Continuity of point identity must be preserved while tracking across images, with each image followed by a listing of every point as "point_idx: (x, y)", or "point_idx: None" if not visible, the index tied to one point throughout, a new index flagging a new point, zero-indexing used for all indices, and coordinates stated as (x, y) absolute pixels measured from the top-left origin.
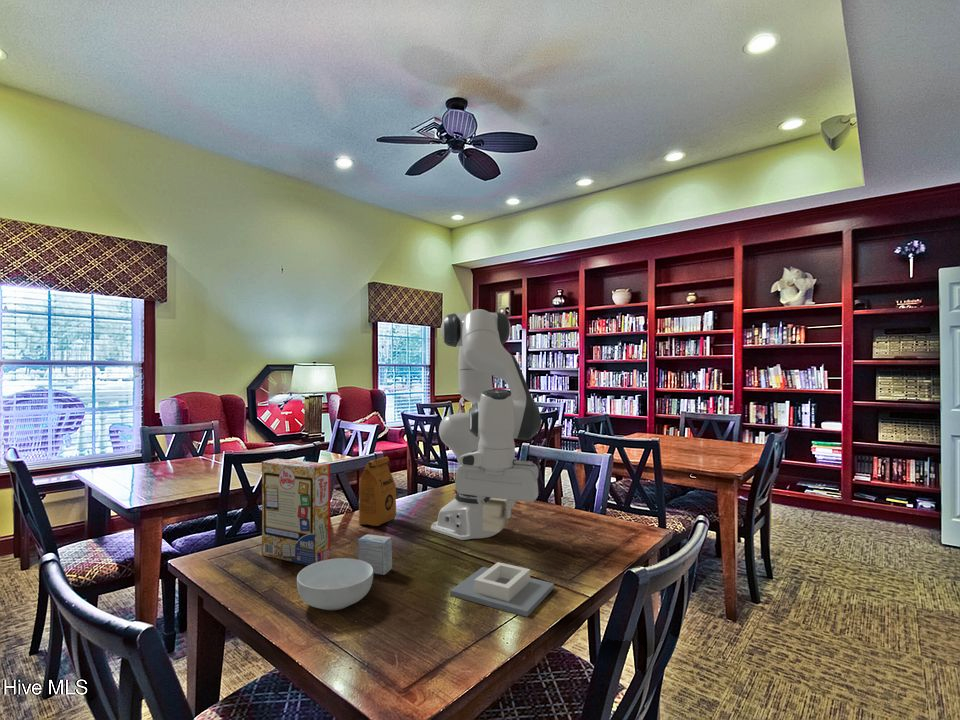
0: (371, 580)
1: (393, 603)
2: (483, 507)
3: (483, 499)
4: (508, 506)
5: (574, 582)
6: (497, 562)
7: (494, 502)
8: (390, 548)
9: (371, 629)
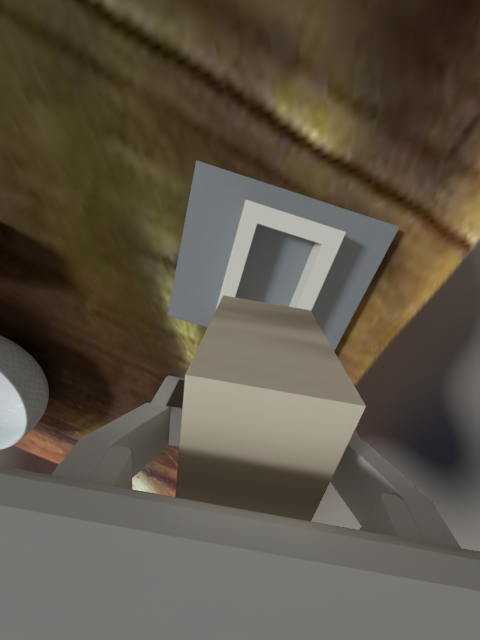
0: (29, 386)
1: (94, 355)
2: None
3: (121, 439)
4: (355, 516)
5: (460, 172)
6: (245, 202)
7: (240, 503)
8: None
9: (111, 420)
